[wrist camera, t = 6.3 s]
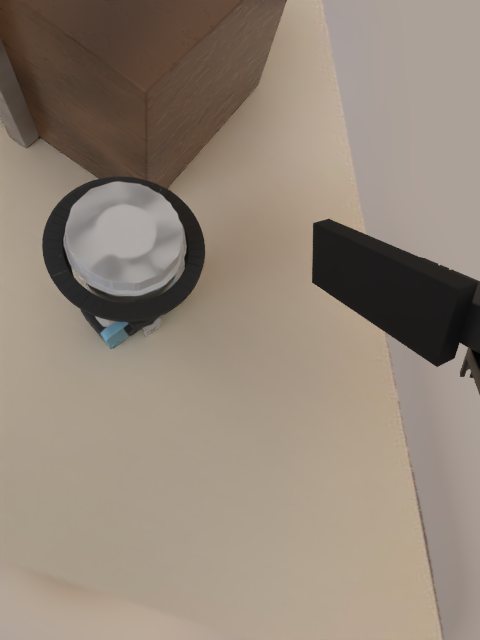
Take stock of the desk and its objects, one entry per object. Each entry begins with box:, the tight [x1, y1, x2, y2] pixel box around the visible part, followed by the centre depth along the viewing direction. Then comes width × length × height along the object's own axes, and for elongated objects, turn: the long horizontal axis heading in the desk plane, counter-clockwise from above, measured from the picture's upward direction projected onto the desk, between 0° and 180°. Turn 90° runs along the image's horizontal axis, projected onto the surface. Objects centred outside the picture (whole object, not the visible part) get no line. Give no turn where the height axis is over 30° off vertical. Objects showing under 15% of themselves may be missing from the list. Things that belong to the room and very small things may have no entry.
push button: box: [42, 177, 205, 349], centre depth 16 cm, size 7×5×10 cm
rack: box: [0, 0, 287, 189], centre depth 19 cm, size 9×16×12 cm, turn 149°
